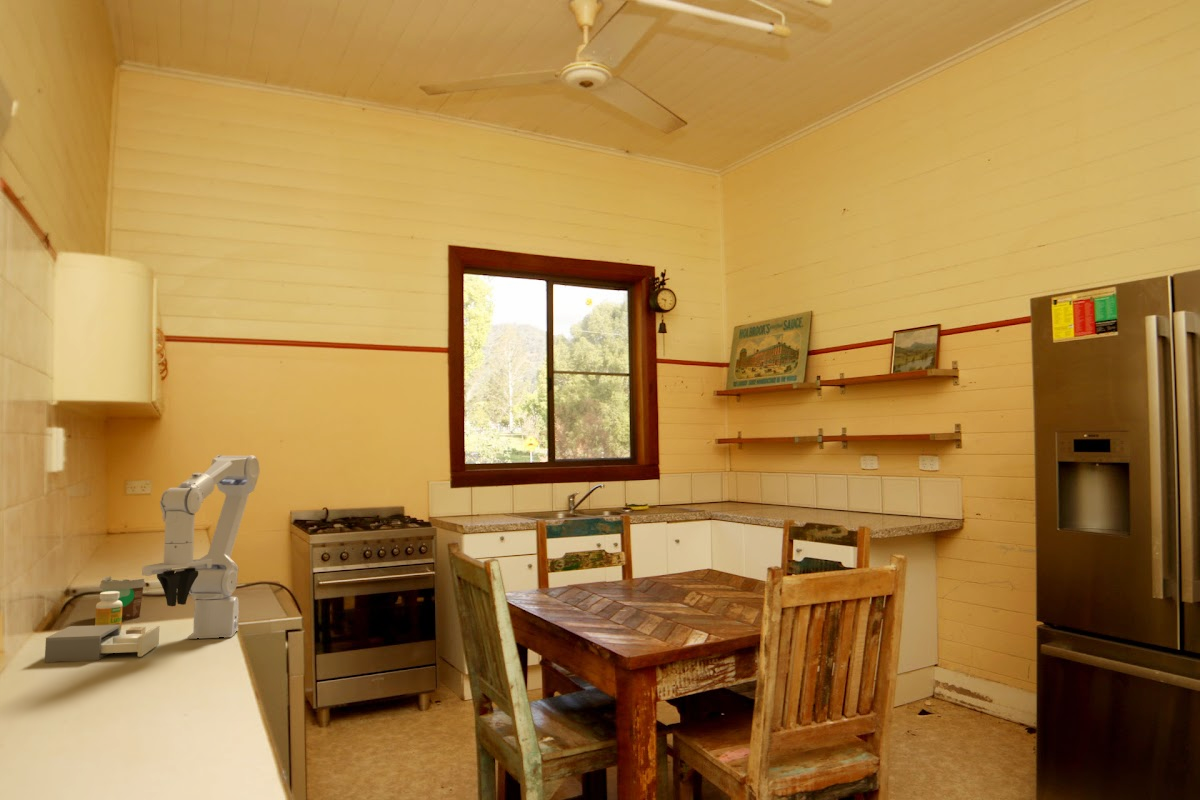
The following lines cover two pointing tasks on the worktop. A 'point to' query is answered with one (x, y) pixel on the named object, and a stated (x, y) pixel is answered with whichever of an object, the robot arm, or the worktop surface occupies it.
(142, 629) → the block
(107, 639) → the tray
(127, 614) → the food container
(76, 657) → the grey boxy piece
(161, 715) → the worktop surface
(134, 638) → the disc
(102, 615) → the supplement bottle
